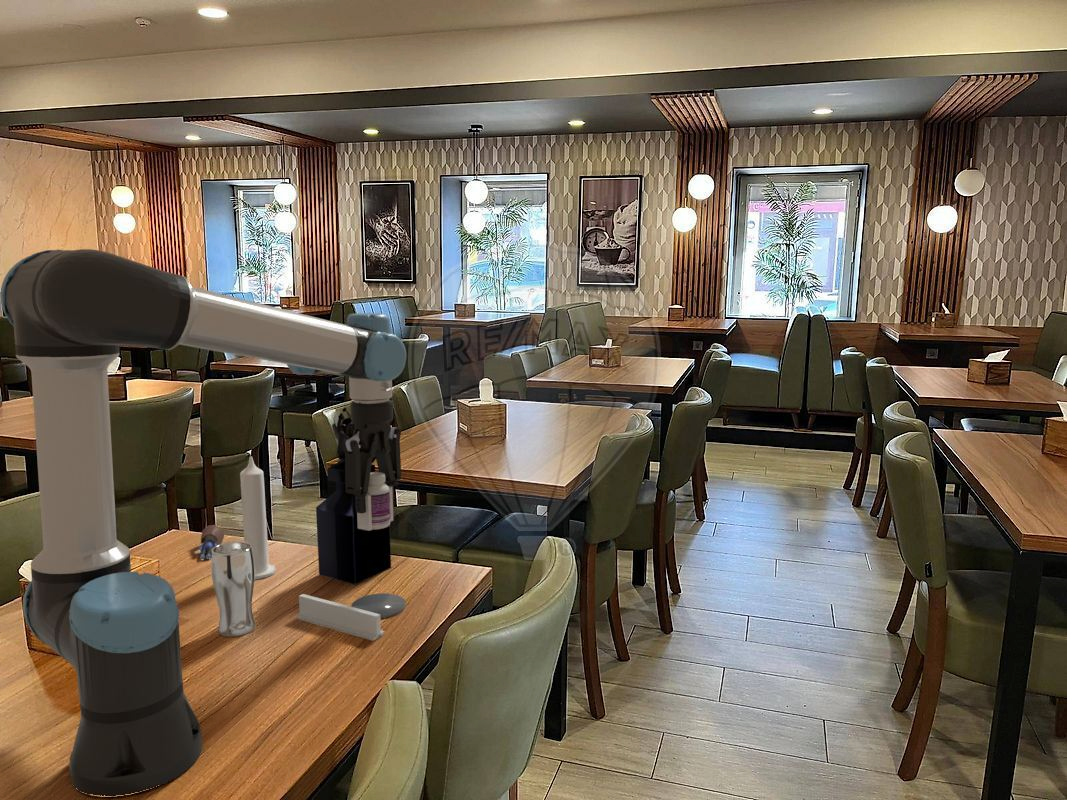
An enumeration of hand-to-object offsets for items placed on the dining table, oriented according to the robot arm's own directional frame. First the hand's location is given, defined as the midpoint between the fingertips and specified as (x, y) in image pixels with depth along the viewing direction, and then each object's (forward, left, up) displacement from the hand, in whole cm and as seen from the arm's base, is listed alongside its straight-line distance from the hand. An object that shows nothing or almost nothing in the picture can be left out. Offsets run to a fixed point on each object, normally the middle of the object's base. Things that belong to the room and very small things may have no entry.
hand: (375, 524), depth 143 cm
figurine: (+5, +53, -17) cm, 55 cm away
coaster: (0, 0, -16) cm, 16 cm away
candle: (+1, +33, -16) cm, 37 cm away
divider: (-10, +1, -16) cm, 19 cm away
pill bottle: (0, 0, 0) cm, 0 cm away
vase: (+12, +16, -16) cm, 26 cm away
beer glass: (-19, +16, -16) cm, 30 cm away
